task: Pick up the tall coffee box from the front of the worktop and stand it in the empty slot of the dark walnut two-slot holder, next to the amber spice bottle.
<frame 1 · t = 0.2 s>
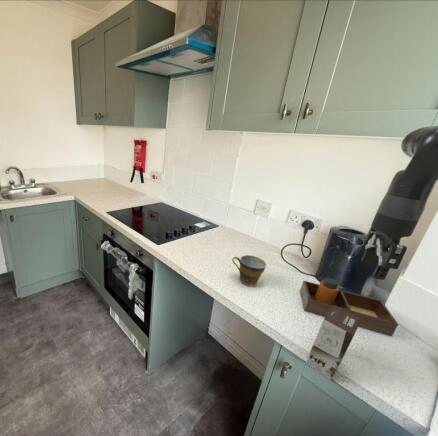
hand: (371, 270, 65), 27 cm above the worktop, tool pointing down, fingers open, 8 cm apart
spice bottle: (321, 305, 90), point 1 cm above the worktop, touching holder
ceramic cup: (244, 280, 104), on the worktop
holder: (339, 312, 88), on the worktop
coffee box: (322, 363, 69), on the worktop
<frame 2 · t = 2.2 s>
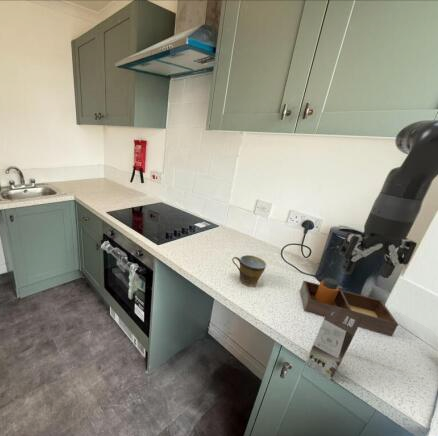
hand: (364, 274, 61), 28 cm above the worktop, tool pointing down, fingers open, 8 cm apart
nothing on the worktop moved.
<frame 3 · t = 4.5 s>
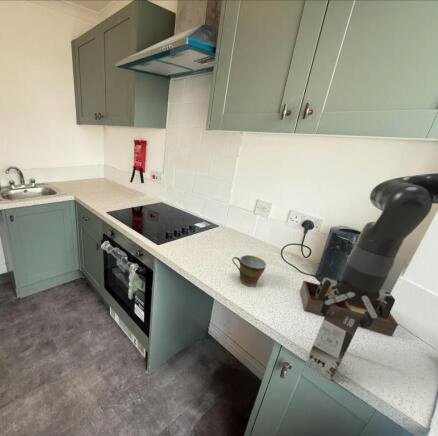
hand: (342, 319, 63), 16 cm above the worktop, tool pointing down, fingers closed on coffee box, 8 cm apart
coffee box: (322, 363, 69), on the worktop, touching gripper
everything else where it was.
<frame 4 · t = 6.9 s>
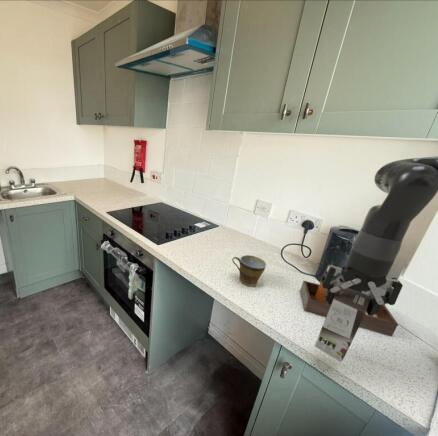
hand: (348, 307, 61), 20 cm above the worktop, tool pointing down, fingers closed on coffee box, 8 cm apart
coffee box: (331, 345, 66), point 6 cm above the worktop, touching gripper
everything else where it was.
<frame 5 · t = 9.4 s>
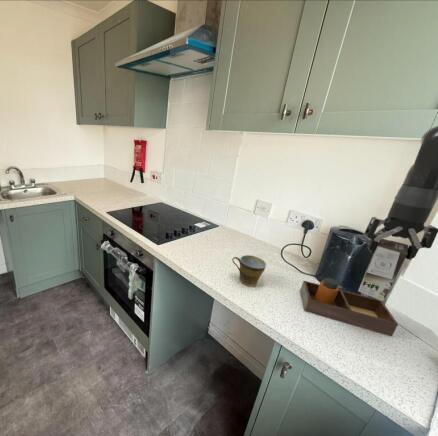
hand: (389, 254, 72), 28 cm above the worktop, tool pointing down, fingers closed on coffee box, 8 cm apart
coffee box: (372, 291, 77), point 15 cm above the worktop, touching gripper
everything else where it was.
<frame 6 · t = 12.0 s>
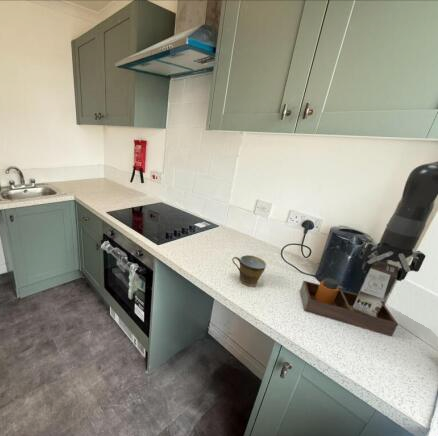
hand: (381, 275, 79), 18 cm above the worktop, tool pointing down, fingers closed on coffee box, 8 cm apart
coffee box: (366, 307, 84), point 5 cm above the worktop, touching gripper
everything else where it was.
when the fingers open (14 cm above the worktop, at t = 13.7 s): coffee box stays where it is, resting on holder.
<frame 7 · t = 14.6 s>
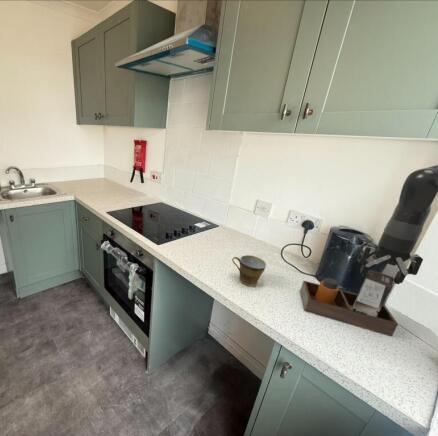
hand: (379, 279, 80), 17 cm above the worktop, tool pointing down, fingers open, 8 cm apart
coffee box: (361, 316, 86), point 1 cm above the worktop, touching holder
everything else where it was.
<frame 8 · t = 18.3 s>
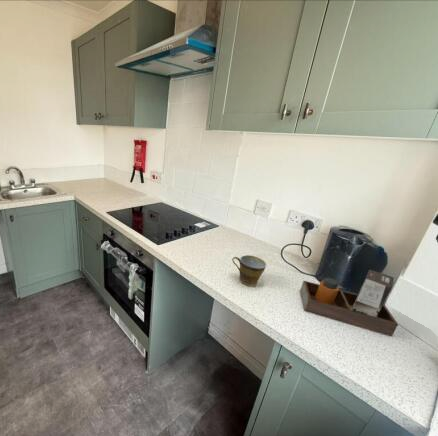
nothing on the worktop moved.
at the end: coffee box 0.4 cm from the target spot in the holder, point 0.8 cm above the holder's base; coffee box tilted 0°; spice bottle moved 0.0 cm from its start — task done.
